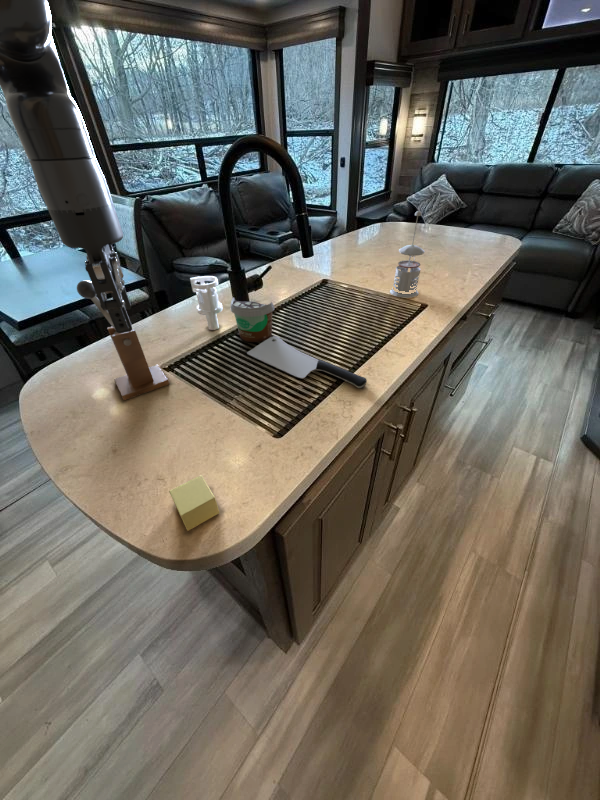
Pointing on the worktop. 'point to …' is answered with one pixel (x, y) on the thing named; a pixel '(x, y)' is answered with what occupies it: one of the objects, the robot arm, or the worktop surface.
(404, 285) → the french press
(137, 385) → the wooden stand
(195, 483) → the butter
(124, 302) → the robot arm
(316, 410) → the worktop surface
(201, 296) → the white plastic fitting
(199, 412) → the worktop surface
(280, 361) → the kitchen cleaver
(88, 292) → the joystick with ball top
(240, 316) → the food container
